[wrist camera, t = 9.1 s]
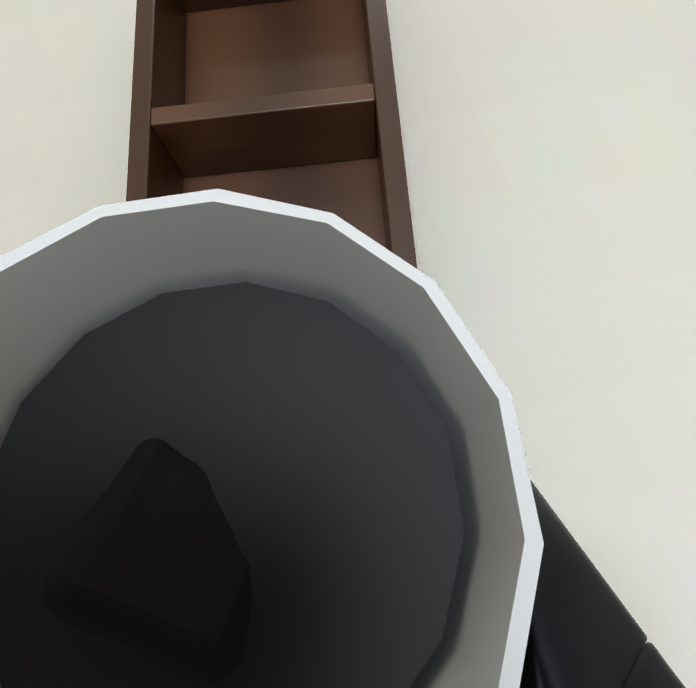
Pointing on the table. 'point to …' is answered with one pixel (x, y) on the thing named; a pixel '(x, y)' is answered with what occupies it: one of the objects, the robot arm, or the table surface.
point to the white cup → (251, 461)
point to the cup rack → (272, 108)
